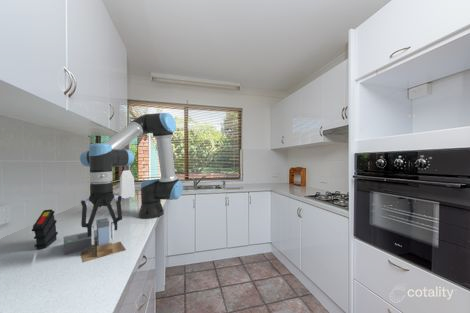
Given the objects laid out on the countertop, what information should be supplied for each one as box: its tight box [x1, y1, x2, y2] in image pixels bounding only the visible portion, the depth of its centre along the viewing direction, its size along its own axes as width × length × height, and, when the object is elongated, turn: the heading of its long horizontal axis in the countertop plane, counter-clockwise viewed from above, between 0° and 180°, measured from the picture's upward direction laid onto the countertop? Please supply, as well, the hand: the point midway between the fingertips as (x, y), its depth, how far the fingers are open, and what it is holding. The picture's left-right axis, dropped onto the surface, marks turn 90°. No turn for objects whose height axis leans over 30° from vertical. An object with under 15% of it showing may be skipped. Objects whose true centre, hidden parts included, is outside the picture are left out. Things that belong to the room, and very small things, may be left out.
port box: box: [62, 229, 97, 256], centre depth 87 cm, size 14×10×5 cm
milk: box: [118, 169, 136, 199], centre depth 201 cm, size 12×12×26 cm
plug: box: [95, 217, 110, 246], centre depth 81 cm, size 4×5×12 cm
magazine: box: [31, 209, 59, 251], centre depth 91 cm, size 4×13×15 cm, turn 21°
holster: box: [79, 240, 127, 263], centre depth 81 cm, size 14×11×4 cm
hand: (103, 241), depth 81 cm, fingers open, 6 cm apart
